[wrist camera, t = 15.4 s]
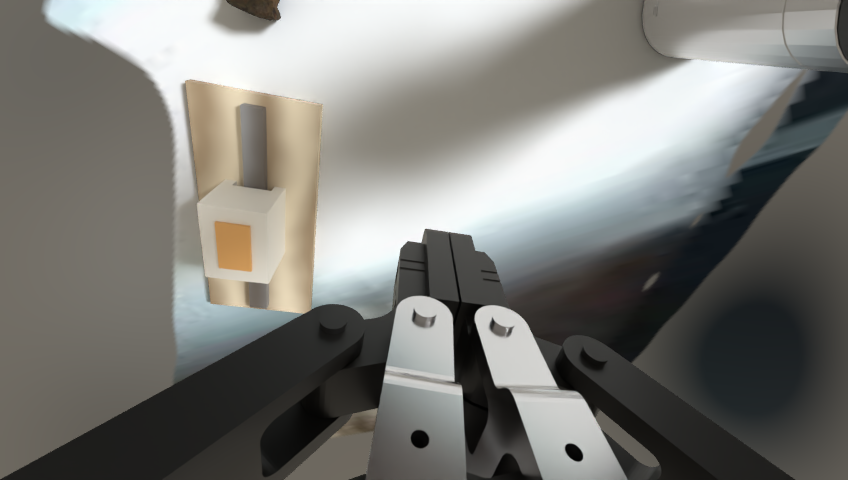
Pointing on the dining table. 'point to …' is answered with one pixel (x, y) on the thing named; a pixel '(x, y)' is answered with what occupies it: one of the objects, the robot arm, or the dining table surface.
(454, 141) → the dining table surface
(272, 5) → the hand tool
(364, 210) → the dining table surface
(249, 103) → the rail board
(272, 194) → the block
